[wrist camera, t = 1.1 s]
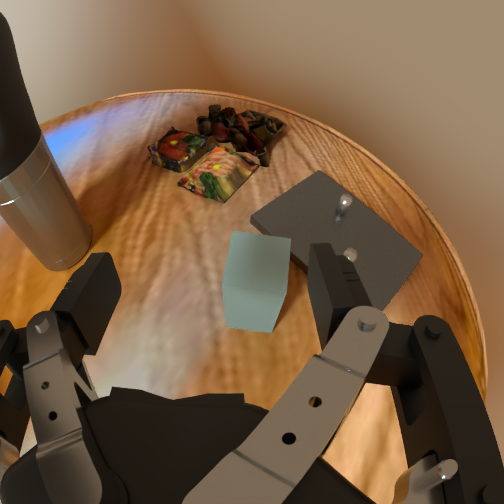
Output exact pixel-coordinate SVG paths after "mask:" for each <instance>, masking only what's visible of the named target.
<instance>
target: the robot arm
mask: <svg viewBox="0 0 504 504" xmlns="http://www.w3.org/2000/svg"><path fill="white" fill-rule="evenodd" d="M0 215H1V216H2V217H3V219H4V220H5V221H6V222H7V224H8V225H9V226H10V227H11V229H12V230H13V231H14V232H15V233H16V235H17V236H18V237H19V238H20V239H21V241H22V242H23V243H24V244H25V245H26V246H27V247H28V249H29V250H30V251H31V252H32V253H33V254H34V255H35V257H36V258H37V259H38V260H39V261H40V262H41V263H42V264H43V265H44V266H45V267H46V268H47V269H49V270H52V271H62V270H65V269H68V268H70V267H72V266H73V265H75V264H76V263H77V262H78V261H80V260H81V258H82V257H83V256H84V255H85V253H86V252H87V250H88V248H89V246H90V243H91V239H92V230H91V227H90V225H89V223H88V221H87V220H86V218H85V216H84V214H83V213H82V211H81V209H80V207H79V205H78V203H77V202H76V200H75V198H74V196H73V194H72V192H71V191H70V189H69V187H68V185H67V183H66V181H65V179H64V177H63V175H62V173H61V171H60V169H59V167H58V165H57V163H56V161H55V159H54V157H53V155H52V153H51V151H50V149H49V147H48V145H47V143H46V140H45V138H44V136H43V134H42V131H41V129H40V127H39V125H38V122H37V120H36V117H35V114H34V111H33V107H32V104H31V101H30V98H29V96H28V93H27V90H26V87H25V84H24V81H23V77H22V74H21V70H20V66H19V62H18V58H17V53H16V49H15V44H14V41H13V36H12V33H11V30H10V27H9V24H8V22H7V20H6V18H5V17H4V16H3V15H2V13H1V12H0ZM307 284H308V292H309V296H310V301H311V305H312V309H313V313H314V318H315V322H316V327H317V331H318V335H319V340H320V344H321V349H322V353H321V354H320V355H319V356H318V355H316V354H315V355H313V356H312V357H311V358H310V360H309V361H308V362H307V364H306V365H305V366H304V368H303V369H302V370H301V372H300V373H299V374H298V376H297V377H296V378H295V380H294V381H293V382H292V384H291V385H290V386H289V388H288V389H287V390H286V391H285V393H284V394H283V395H282V397H281V398H280V399H279V400H278V402H277V403H276V404H275V405H274V407H273V408H272V409H271V410H270V411H268V410H266V409H264V408H262V407H259V406H256V405H253V404H248V403H245V399H244V393H238V394H209V393H208V394H203V395H198V396H193V397H188V398H182V399H176V400H171V399H167V398H164V397H161V396H158V395H155V394H152V393H149V392H146V391H143V390H138V389H128V388H120V387H112V389H111V392H110V396H106V397H102V398H98V396H97V393H96V391H95V388H94V386H93V383H92V381H91V378H90V375H89V373H88V370H87V367H86V364H85V362H84V361H83V356H84V354H85V355H94V356H95V355H96V353H97V350H98V348H99V345H100V343H101V340H102V338H103V335H104V333H105V331H106V328H107V326H108V323H109V321H110V319H111V317H112V314H113V312H114V310H115V307H116V305H117V303H118V301H119V298H120V296H121V282H120V279H119V277H118V274H117V271H116V268H115V265H114V262H113V259H112V256H111V255H110V253H108V252H104V253H92V254H91V255H90V256H89V257H88V259H87V260H86V262H85V263H84V265H82V266H81V267H80V268H79V269H77V270H76V271H75V272H74V273H73V274H72V276H71V277H70V279H69V280H68V282H67V283H66V285H65V286H64V289H63V290H62V291H61V293H60V294H59V296H58V297H57V299H56V301H55V302H54V304H53V305H52V307H51V309H50V310H49V311H42V312H40V313H38V314H36V315H35V316H33V317H32V318H31V319H30V321H29V322H28V324H27V327H24V328H19V329H15V328H14V327H13V325H12V324H11V322H10V321H9V320H1V321H0V376H1V374H2V372H3V369H4V367H5V365H6V366H7V367H8V368H9V370H10V371H11V372H12V373H13V376H12V378H11V380H10V383H9V385H8V388H7V390H6V393H5V395H4V396H3V395H2V394H1V393H0V500H1V503H2V504H376V503H375V502H374V501H372V500H371V499H370V498H369V497H367V496H366V495H365V494H364V493H363V492H361V491H360V490H359V489H358V488H356V487H355V486H354V485H353V484H352V483H351V482H349V481H348V480H347V479H346V478H345V477H343V476H342V475H341V474H340V473H339V472H338V471H337V470H335V469H334V468H333V467H332V466H331V465H330V464H329V463H328V462H326V461H325V460H324V459H323V458H322V457H323V456H324V454H325V453H326V451H327V450H328V448H329V447H330V445H331V444H332V442H333V440H334V439H335V437H336V436H337V434H338V432H339V430H340V429H341V427H342V425H343V423H344V422H345V420H346V418H347V416H348V415H349V413H350V411H351V409H352V408H353V406H354V404H355V402H356V400H357V399H358V397H359V395H360V393H361V391H362V389H363V387H364V386H365V384H366V383H372V384H380V385H388V386H390V387H391V391H392V395H393V399H394V403H395V407H396V412H397V416H398V420H399V425H400V429H401V434H402V439H403V444H404V449H405V454H406V459H407V465H408V470H406V471H405V472H403V473H402V474H401V475H400V477H399V478H398V480H397V482H396V484H395V491H394V499H393V502H392V504H504V467H503V463H502V459H501V455H500V452H499V448H498V445H497V441H496V438H495V435H494V432H493V429H492V425H491V422H490V420H489V417H488V414H487V412H486V408H485V406H484V403H483V400H482V398H481V395H480V392H479V390H478V387H477V385H476V382H475V380H474V378H473V375H472V373H471V371H470V368H469V366H468V364H467V361H466V359H465V357H464V355H463V353H462V350H461V348H460V346H459V344H458V342H457V340H456V338H455V336H454V334H453V332H452V330H451V328H450V326H449V325H448V324H447V323H446V322H445V321H444V320H443V319H441V318H439V317H437V316H433V315H424V316H421V317H419V318H418V319H417V320H416V321H415V323H414V325H413V326H410V325H403V324H396V323H392V322H389V321H388V318H387V317H386V315H385V314H384V313H383V312H382V311H380V310H378V309H376V308H374V307H373V306H372V304H371V301H370V299H369V297H368V295H367V292H366V290H365V288H364V286H363V284H362V281H360V277H359V275H358V274H357V271H356V269H355V266H354V264H353V262H351V261H350V260H349V259H348V258H347V257H346V256H344V255H335V252H334V250H333V248H332V245H331V244H330V243H311V244H310V250H309V263H308V276H307ZM30 415H31V420H32V424H33V428H34V432H35V436H36V440H37V444H36V445H35V446H34V447H33V448H32V449H30V450H29V451H28V452H27V453H25V454H24V455H23V456H22V457H20V451H21V447H22V443H23V439H24V436H25V432H26V429H27V425H28V422H29V419H30Z"/></svg>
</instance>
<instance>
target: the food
mask: <svg viewBox="0 0 504 504" xmlns="http://www.w3.org/2000/svg"><path fill="white" fill-rule="evenodd" d="M220 109H221V106H220V105H210V106H209V117H206V116H200V117H198V118H197V119H196V121H197V124H198V131H199V134H200V132H204V134H203V135H201V134H200V135H197V134H192V133H190V132H184V131H177V130H175V129H174V127H172V128H171V129H170V130H169V131H168V132H167V134H166V135H165V136H164V137H163V138H162V139H160V140H159V141H157V142H156V143H154V144H152V145H150V146H148V149H149V151H150V152H151V156H153V161H152V163H153V164H155V165H158V166H161V167H164V168H166V169H169V170H172V171H174V172H178V173H181V172H184V171H186V170H188V169H189V168H190V167H191V166H192V165H193V164H194V163H195V162H196V161H197V160H198V159H199V158H200V157H201V156H202V155H204V154H205V153H207V152H210V151H211V152H210V153H209V154H208V155H207V156H206V157H205V158H204V159H203V160H202V161H201V162H199V163H198V164H197V165H196V166H195V167H194V168H193V169H191V170H190V171H189V172H188V173H187V174H186V175H185V176H184V177H183V178H182V179H181V180H180V181H179V182H178V183H177V184H178V186H181V187H184V185H185V184H186V182H188V181H190V183H188V186H191V189H187V190H190V191H191V192H193V193H194V194H196V195H198V196H201V197H206V198H211V199H214V200H216V201H219V202H222V203H223V202H225V201H226V200H227V199H228V198H229V197H230V196H231V195H232V194H233V193H234V192H235V191H236V190H237V189H238V188H239V186H240V185H241V184H242V183H243V182H244V181H245V180H246V179H247V178H248V177H249V176H250V175H251V174H252V173H253V172H255V171H256V168H257V167H259V166H258V164H254V163H253V162H252V161H250V160H249V159H247V158H245V157H243V156H240V155H239V154H237V153H233V152H232V151H229V150H226V149H225V148H226V147H224V148H223V147H219V146H218V145H216V144H215V143H213V142H212V141H210V140H209V139H208V136H212V135H213V136H214V138H215V139H216V141H218V142H219V143H228V142H231V143H232V145H233V147H234V148H235V149H236V152H247V153H250V154H252V155H254V156H257V157H258V158H259V159H260V161H259V162H260V166H263V167H269V165H270V158H269V156H268V153H267V146H268V144H269V142H270V141H271V140H272V139H273V138H274V137H275V136H276V135H277V134H278V132H279V133H281V132H282V131H283V129H284V128H285V127H286V126H287V125H286V124H285V123H283V122H282V121H281V120H279V119H278V118H275V117H272V116H269V115H266V114H263V113H259V112H255V111H251V110H247V111H245V112H243V113H239V114H236V113H235V110H234V108H230V107H228V108H227V107H226V108H225V109H223V110H221V111H220ZM242 116H243V117H249V118H251V119H253V120H254V121H250V122H246V121H245V119H243V117H242ZM152 149H153V150H152ZM149 158H150V157H149ZM148 160H149V159H148ZM184 188H186V187H184ZM192 189H194V191H192Z"/></svg>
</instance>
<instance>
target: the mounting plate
mask: <svg viewBox="0 0 504 504" xmlns="http://www.w3.org/2000/svg"><path fill="white" fill-rule="evenodd" d="M250 223H251V224H252V225H253V226H254V227H256V228H257V229H258V230H259V231H260V232H261V233H262V234H263V235H268V236H276V237H283V238H290V239H291V247H290V259H291V260H292V261H293V262H294V263H295V264H296V265H298V266H299V267H300V268H301V269H302V270H303V271H304V272H305V273H306V274H307V275H308V263H309V250H310V244H311V243H330V244H331V245H332V248H333V250H334V252H335V255H344V256H346V257H347V258H348V259H349V260H350V261H351V262H353V264H354V266H355V269H356V271H357V274H358V275H359V277H360V281H362V284H363V286H364V288H365V290H366V292H367V295H368V297H369V299H370V301H371V304H372V306H373V307H374V308H376V309H378V310H380V311H383V310H384V308H385V307H386V306H387V304H388V303H389V302H390V301H391V299H392V298H393V297H394V295H395V294H396V293H397V291H398V290H399V289H400V287H401V286H402V285H403V283H404V282H405V281H406V279H407V278H408V276H409V275H410V274H411V272H412V271H413V269H414V268H415V267H416V265H417V264H418V262H419V261H420V259H421V258H422V256H423V254H422V253H421V252H420V251H418V250H417V249H416V248H415V247H414V246H413V245H412V244H411V243H410V242H408V241H407V240H406V239H405V238H404V237H403V236H402V235H400V234H399V233H398V232H397V231H396V230H395V229H393V228H392V227H391V226H390V225H389V224H388V223H386V222H385V221H384V220H383V219H382V218H380V217H379V216H378V215H377V214H375V213H374V212H373V211H372V210H371V209H369V208H368V207H367V206H366V205H364V204H363V203H362V202H361V201H359V200H358V199H357V198H355V197H354V196H353V195H352V194H350V193H349V192H348V191H346V190H345V189H344V188H343V187H341V186H340V185H339V184H337V183H336V182H335V181H333V180H332V179H331V178H329V177H328V176H326V175H325V174H324V173H322V172H321V171H320V170H318V171H317V172H315V173H314V174H312V175H310V176H309V177H307V178H306V179H304V180H303V181H301V182H300V183H298V184H297V185H295V186H294V187H292V188H291V189H289V190H288V191H286V192H285V193H283V194H282V195H281V196H279V197H278V198H276V199H275V200H273V201H272V202H270V203H269V204H267V205H266V206H264V207H263V208H261V209H260V210H258V211H257V212H255V213H254V214H253V215H251V220H250Z"/></svg>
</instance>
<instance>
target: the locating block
mask: <svg viewBox="0 0 504 504" xmlns="http://www.w3.org/2000/svg"><path fill="white" fill-rule="evenodd" d="M290 247H291V239H290V238H283V237H276V236H268V235H261V234H254V233H246V232H239V231H232V236H231V241H230V246H229V250H228V255H227V260H226V265H225V270H224V276H223V281H222V289H223V300H224V310H225V320H226V327H230V328H237V329H244V330H251V331H259V332H266V333H272V331H273V328H274V326H275V323H276V320H277V318H278V315H279V312H280V310H281V307H282V304H283V302H284V299H285V296H286V293H287V285H288V273H289V260H290Z"/></svg>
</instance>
